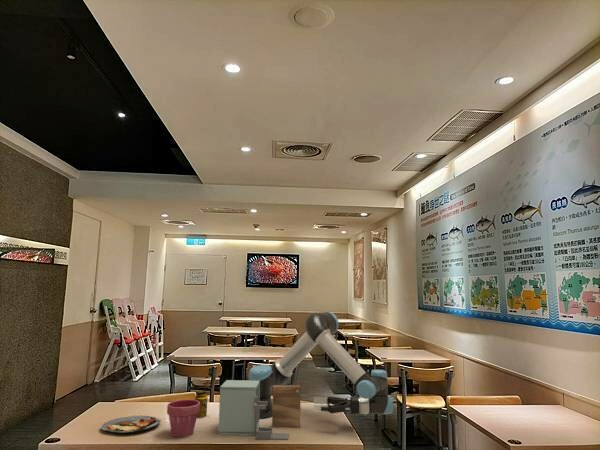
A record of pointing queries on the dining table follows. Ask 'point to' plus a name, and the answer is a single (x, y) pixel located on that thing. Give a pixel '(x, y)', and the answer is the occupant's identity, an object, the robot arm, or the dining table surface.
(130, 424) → the food plate
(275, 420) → the door
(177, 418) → the plant pot
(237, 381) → the cabinet
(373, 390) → the robot arm
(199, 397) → the condiment
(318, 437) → the dining table surface
